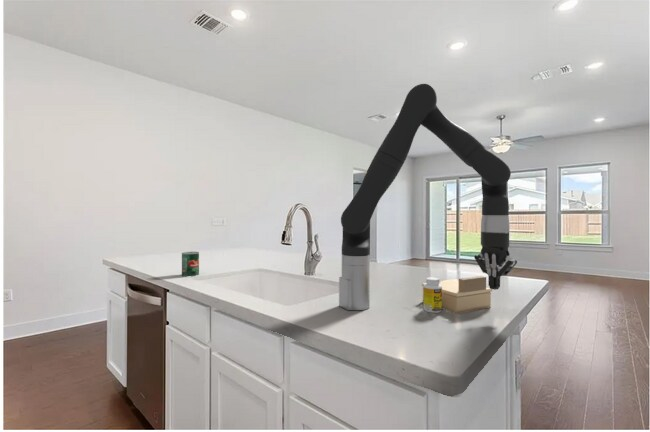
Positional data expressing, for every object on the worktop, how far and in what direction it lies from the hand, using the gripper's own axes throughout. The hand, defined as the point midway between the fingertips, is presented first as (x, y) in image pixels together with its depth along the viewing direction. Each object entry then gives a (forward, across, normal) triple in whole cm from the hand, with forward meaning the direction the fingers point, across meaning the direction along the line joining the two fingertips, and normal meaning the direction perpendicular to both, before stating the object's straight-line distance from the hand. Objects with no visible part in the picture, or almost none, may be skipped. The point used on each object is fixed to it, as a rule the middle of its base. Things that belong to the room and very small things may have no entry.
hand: (494, 288), depth 96 cm
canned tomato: (+9, -106, -79) cm, 132 cm away
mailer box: (+8, -15, 0) cm, 17 cm away
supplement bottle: (+9, -12, -12) cm, 19 cm away
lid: (+3, -15, 0) cm, 15 cm away
